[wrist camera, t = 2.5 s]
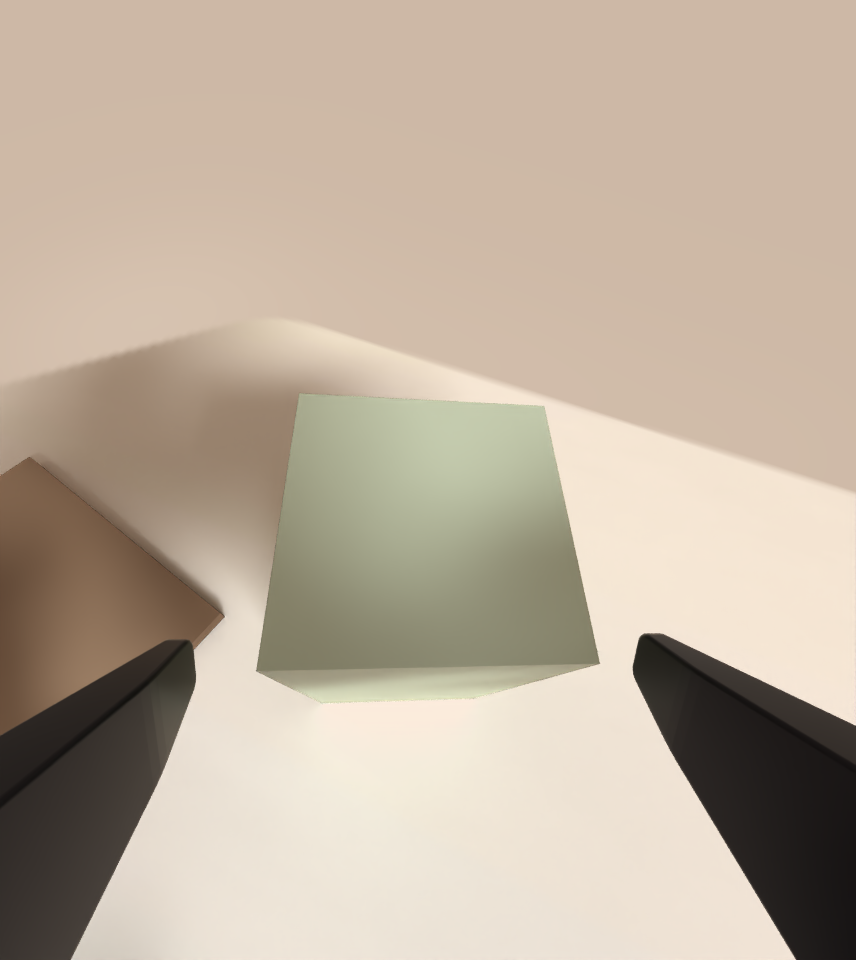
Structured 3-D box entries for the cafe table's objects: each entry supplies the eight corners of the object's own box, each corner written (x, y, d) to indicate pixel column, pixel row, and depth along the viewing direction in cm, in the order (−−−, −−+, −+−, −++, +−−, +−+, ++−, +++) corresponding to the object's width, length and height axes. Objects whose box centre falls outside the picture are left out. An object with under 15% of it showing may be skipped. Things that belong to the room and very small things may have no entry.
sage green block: (473, 698, 17) (599, 663, 8) (321, 703, 16) (256, 671, 7) (462, 556, 20) (544, 406, 11) (333, 555, 19) (298, 393, 10)
